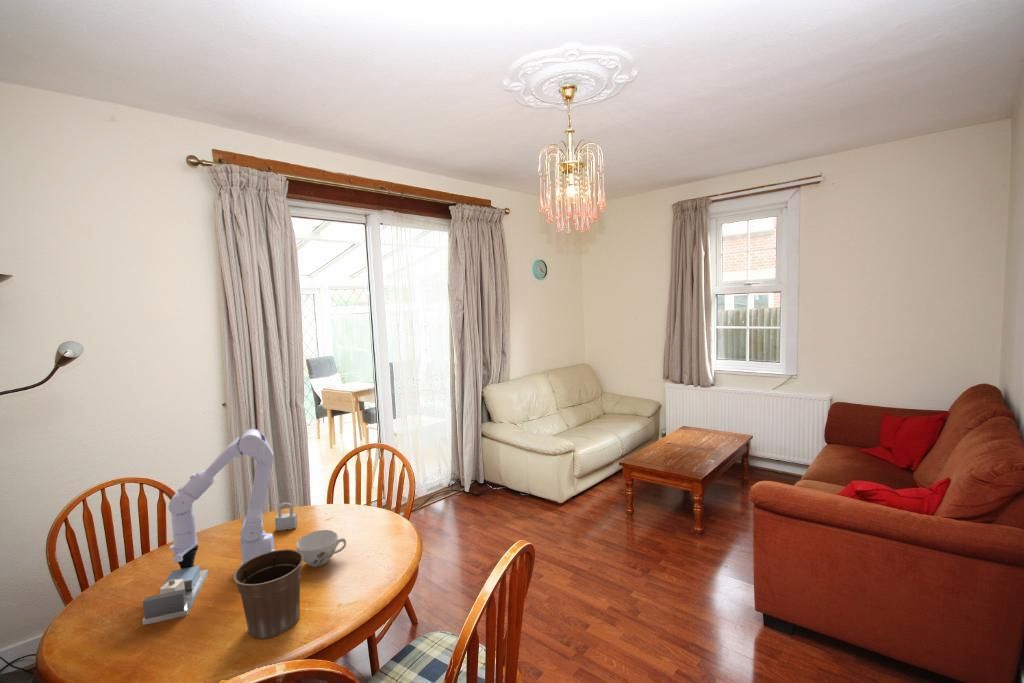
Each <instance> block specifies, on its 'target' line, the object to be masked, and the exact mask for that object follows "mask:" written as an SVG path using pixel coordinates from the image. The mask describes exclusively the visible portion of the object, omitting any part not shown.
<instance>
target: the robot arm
mask: <svg viewBox="0 0 1024 683" xmlns="http://www.w3.org/2000/svg"><path fill="white" fill-rule="evenodd" d="M243 454H244V455H246V456H248V457H251V458H252V459H253V460H255V462H256V463H257V464H256V467H255V473H254V479H253V483H252V488H251V493H250V498H249V502H248V508H247V512H246V514H245V516H244V517H243V519H242V521H241V524H242V525H241V530H240V534H239V535H240V536H239V537H240V549H241V550H240V551H241V564H240V566H241V565H242V564H243V563H245V562H246V561H248V560H250V559H252V558H254V557H256V556H258V555H261V554H264V553H267V552H271V551H275V550H276V549H275V539H274V537H275V536H274V533H268V532H267V533H266V530H264V520H265V519H264V516H263V515H264V509H265V505H266V504H265V503H266V497H267V494H268V488H269V483H270V479H271V473H272V467H273V463H274V458H275V457H274V454H275V453H274V452H273V450H272V448H271V446H270V444H269V442H268V440H267V438H266V435H265V434H263V433H262V432H261V431H260V430H259V429H256V428H248V429H246V430H245V431H243V432H242V434H241V435H240V436H238V437H236V438H235V439H234V440H233V441H232V442H231V443H229V444H228V446H226V447H225V449H224V450H223V451H222V452H221V453H220V454H219V455H218V456H217V457H216V458H215V459H214V460H213V461H212V463H210V465H209V466H208V467H206V469H205V470H200V471H197V472H196V473H192V474H191V475H190V477H189V481H187V482H186V483H185V484H184V485H183V486H182V487H179V488H178V489H177V491H176V492H175V493H174V494H173V496H172V498H171V499H170V500H169V503H168V511H169V513H171V514H170V515H171V529H172V531H171V532H172V539H173V544H172V545H170V546H169V547H168V548H169V551H173V563H178V565H179V567H180V569H184V568H189V567H194V564H195V559H196V554H197V551H198V549H199V545H198V537H197V536H198V535H197V530H196V519H195V513H194V505H193V503H194V502H195V501H197V500H199V499H200V497H201V496H202V495H204V493H205V492H206V491H208V489H209V488H210V487H212V485H213V484H214V483H215V479H214V478H215V476H216V475H217V474H218V473H219V472H220V471H221V470H222V469H224V467H225V466H227V465H228V464H229V463H230V462H231V461H232V460H233V459H235V458H240V457H241V458H242V457H243Z"/></svg>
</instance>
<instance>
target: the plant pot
mask: <svg viewBox="0 0 1024 683" xmlns="http://www.w3.org/2000/svg"><path fill="white" fill-rule="evenodd" d="M303 562H304V561H303V555H302V553H300V552H299V551H298V550H297V549H291V548H290V549H285V548H284V549H275V551H271V552H267V553H264V554H261V555H258V556H256V557H254V558H252V559H250V560H248V561H246V562H245V563H243V564H242V563H241V564H242V565H241V564H240V566H238V567H237V568H236V570H235V571H234V573H233V581H234V583H235V584H236V586H237V591H238V594H239V595H240V597H241V602H242V607H243V611H244V617H245V622H246V626H247V632H248V634H250V636H251V637H252V638H254V639H259V640H263V639H264V640H265V639H272V638H274V636H275V637H277V636H279V634H280V635H282V633H284V632H285V631H286V630H290V629H291V628H293V626H295V625H296V624H297V622H298V621H299V619H300V612H301V611H300V610H301V609H300V604H301V603H300V602H301V601H300V600H301V599H300V597H301V575H302V564H303Z"/></svg>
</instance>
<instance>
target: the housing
mask: <svg viewBox="0 0 1024 683" xmlns="http://www.w3.org/2000/svg"><path fill="white" fill-rule="evenodd" d="M163 584H164V583H163ZM163 584H162V585H161V587H160V588H159V594H164V593H169V592H174V591H179V590H184V589H185V586H184V579H179V580H175V579H171V580H169V581H168V582H167V583H166V584H164V585H163Z"/></svg>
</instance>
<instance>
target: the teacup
mask: <svg viewBox="0 0 1024 683" xmlns="http://www.w3.org/2000/svg"><path fill="white" fill-rule="evenodd" d="M338 537H339V536H338V533H337V532H335V531H333V530H330V529H322V530H316V531H312V532H310V533H307V534H305V535H302V536H301V537H300V538H299V539H298V540H297V541H296V544H295V545H296V551H299V552H300V553H302V555H303V562H304V563H305V564H306V565H308V566H309V567H311V566H312V567H311V568H318V567H317V566H319V567H322V566H323V564H324V565H325V563H326V564H327V563H328V562H329V560H331V558H332V557H333V555H335V554H337V553H340V552H342V551H343V550H344V549H345V548H346V546H347V540H346V538H343V537H342V538H338ZM340 543H343V545H342V547H341V548H339V549H337V547H338V545H339V544H340ZM321 565H322V566H321Z"/></svg>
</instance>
